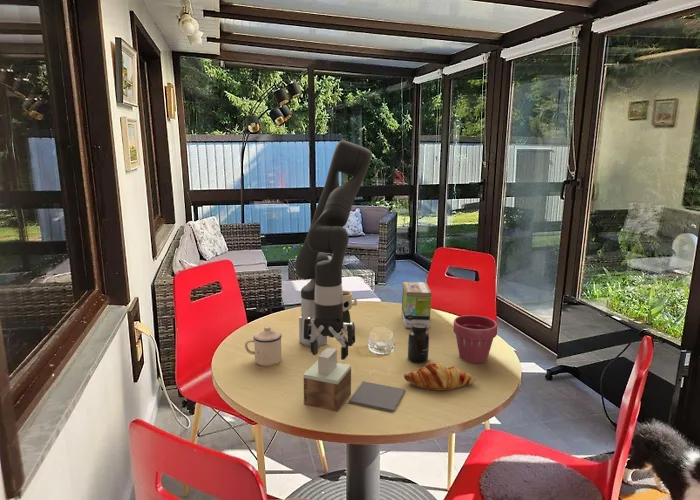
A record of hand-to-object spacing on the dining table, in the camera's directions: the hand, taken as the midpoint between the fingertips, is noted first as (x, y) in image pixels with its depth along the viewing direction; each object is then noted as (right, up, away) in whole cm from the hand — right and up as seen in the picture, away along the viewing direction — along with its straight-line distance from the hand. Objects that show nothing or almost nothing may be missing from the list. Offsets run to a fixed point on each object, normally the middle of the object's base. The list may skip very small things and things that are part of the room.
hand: (329, 356), depth 132 cm
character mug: (+3, -1, +59) cm, 59 cm away
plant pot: (+47, -7, +30) cm, 56 cm away
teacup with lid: (-23, -7, +27) cm, 36 cm away
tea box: (+32, 0, +63) cm, 71 cm away
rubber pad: (+13, -12, +4) cm, 19 cm away
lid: (-1, -6, +1) cm, 6 cm away
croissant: (+32, -11, +12) cm, 36 cm away
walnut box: (-1, -13, +3) cm, 13 cm away
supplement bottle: (+28, -7, +29) cm, 41 cm away
